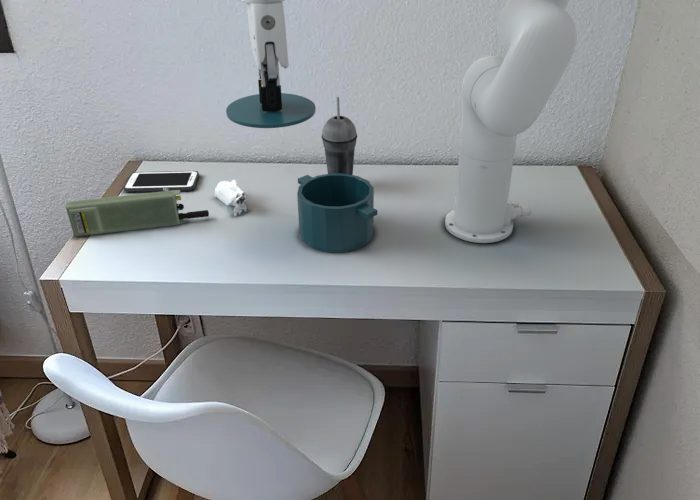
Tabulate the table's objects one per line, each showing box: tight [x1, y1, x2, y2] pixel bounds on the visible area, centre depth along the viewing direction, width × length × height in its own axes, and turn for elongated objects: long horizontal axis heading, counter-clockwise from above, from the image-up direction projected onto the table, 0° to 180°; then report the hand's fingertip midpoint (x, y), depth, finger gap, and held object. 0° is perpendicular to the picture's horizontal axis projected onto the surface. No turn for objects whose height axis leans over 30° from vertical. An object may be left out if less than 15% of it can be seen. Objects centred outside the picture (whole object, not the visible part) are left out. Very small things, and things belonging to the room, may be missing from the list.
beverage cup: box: [321, 96, 358, 175], centre depth 133 cm, size 7×7×20 cm
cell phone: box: [123, 170, 200, 193], centre depth 140 cm, size 8×15×1 cm, turn 92°
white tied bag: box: [213, 179, 248, 217], centre depth 131 cm, size 5×7×10 cm
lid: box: [225, 81, 317, 129], centre depth 107 cm, size 15×15×6 cm
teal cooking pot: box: [296, 173, 378, 254], centre depth 120 cm, size 14×19×9 cm
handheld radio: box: [65, 190, 210, 237], centre depth 124 cm, size 7×3×25 cm
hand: (270, 105), depth 107 cm, fingers closed on lid, 2 cm apart
